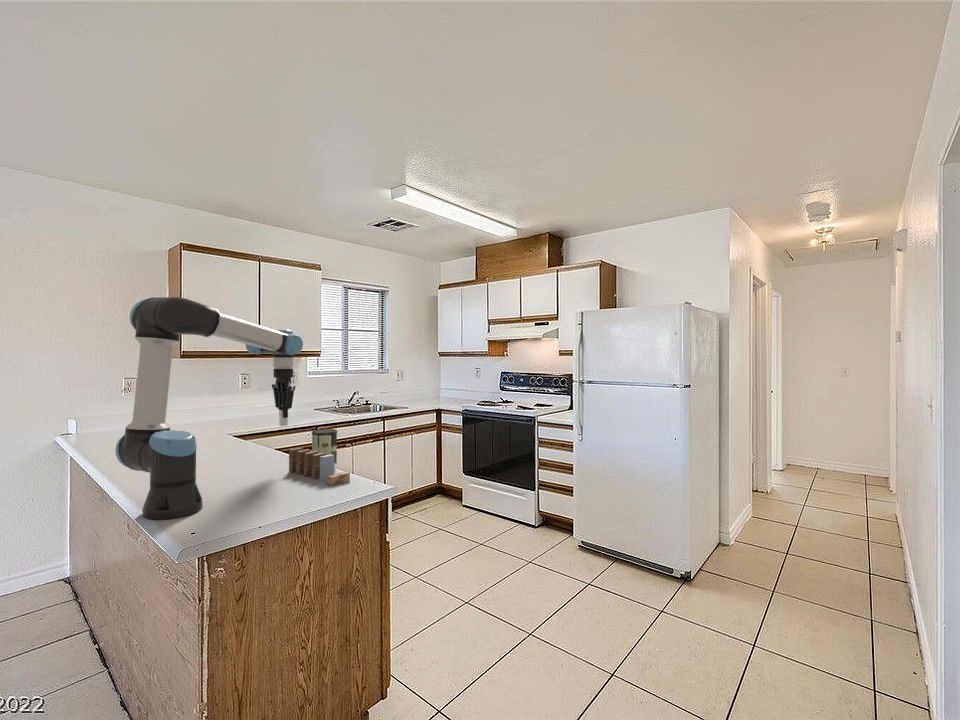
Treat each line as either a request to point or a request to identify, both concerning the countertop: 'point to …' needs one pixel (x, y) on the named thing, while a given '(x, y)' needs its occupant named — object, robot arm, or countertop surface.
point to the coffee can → (325, 442)
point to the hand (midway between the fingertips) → (283, 425)
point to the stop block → (338, 478)
